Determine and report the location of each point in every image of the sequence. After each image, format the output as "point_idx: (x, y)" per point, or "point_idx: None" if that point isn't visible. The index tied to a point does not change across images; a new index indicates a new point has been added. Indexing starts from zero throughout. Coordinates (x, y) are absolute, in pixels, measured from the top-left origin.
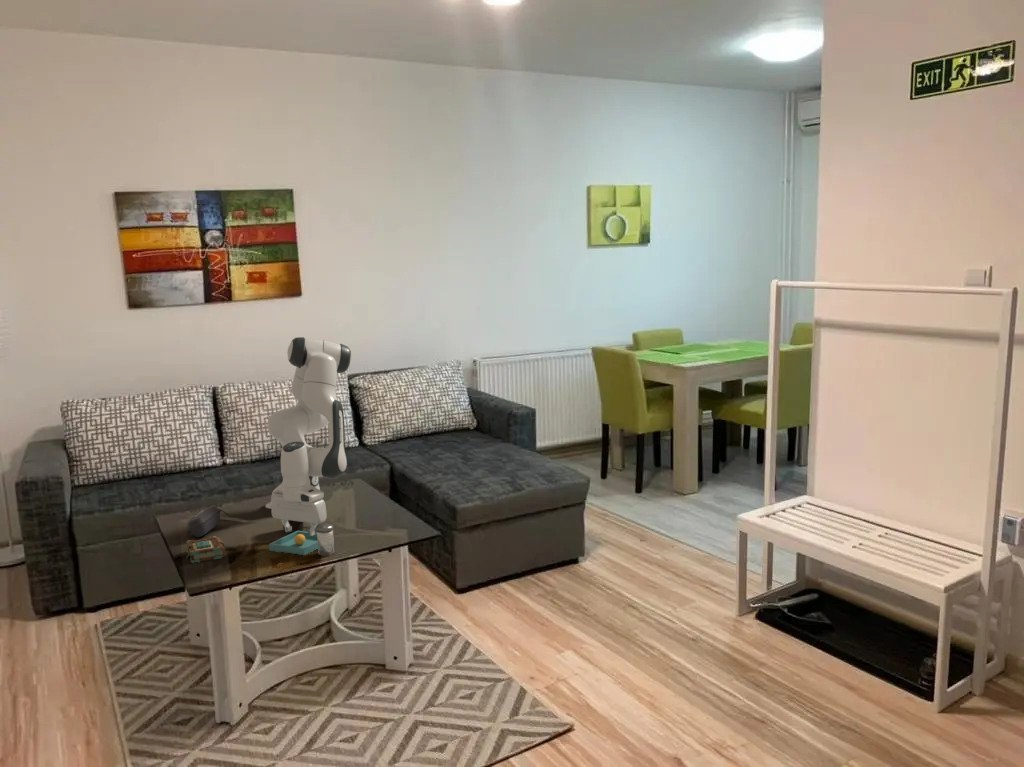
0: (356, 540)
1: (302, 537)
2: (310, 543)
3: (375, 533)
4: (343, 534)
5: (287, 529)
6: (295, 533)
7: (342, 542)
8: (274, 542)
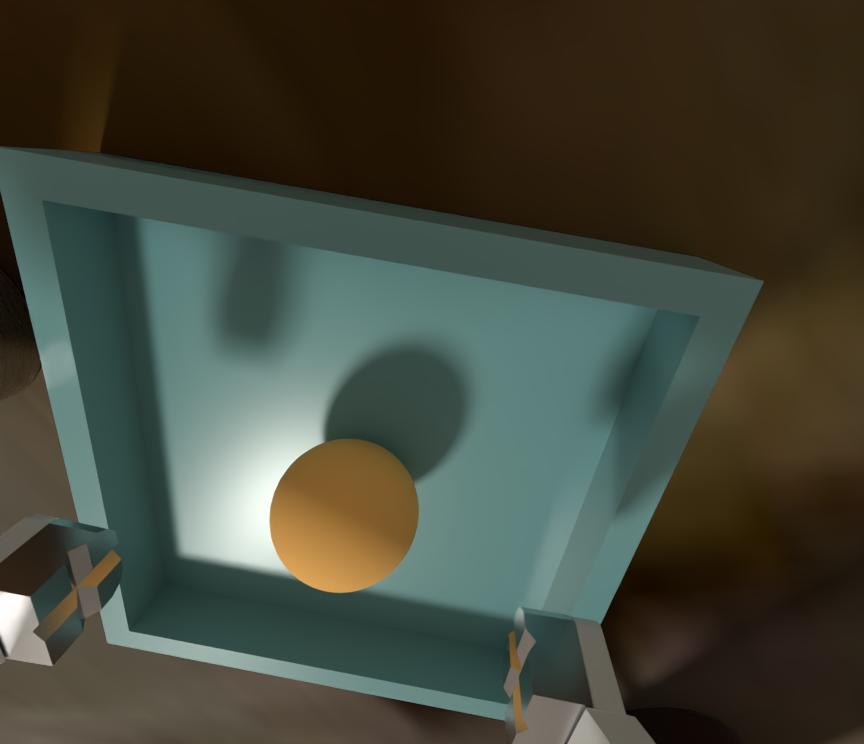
0: None
1: (272, 519)
2: None
3: (16, 727)
4: (207, 711)
5: (547, 654)
6: None
7: None
8: (682, 363)
